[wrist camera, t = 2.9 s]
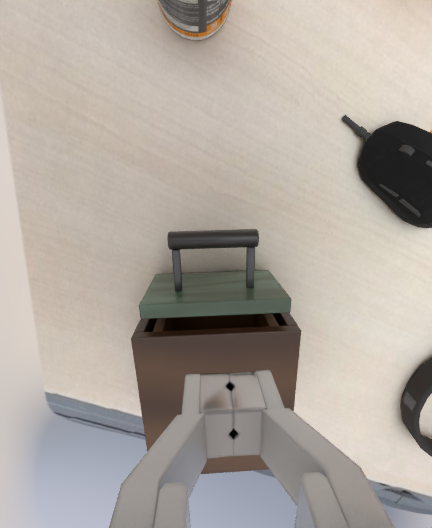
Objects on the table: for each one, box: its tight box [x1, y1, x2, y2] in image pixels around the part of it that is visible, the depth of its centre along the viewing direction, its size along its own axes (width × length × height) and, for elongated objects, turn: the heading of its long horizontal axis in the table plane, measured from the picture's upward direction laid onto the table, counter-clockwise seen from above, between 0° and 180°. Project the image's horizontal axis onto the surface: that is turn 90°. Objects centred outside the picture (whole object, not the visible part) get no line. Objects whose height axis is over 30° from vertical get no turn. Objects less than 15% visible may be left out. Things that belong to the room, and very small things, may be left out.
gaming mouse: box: [342, 115, 432, 228], centre depth 21 cm, size 6×15×4 cm, turn 55°
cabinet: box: [131, 313, 301, 474], centre depth 24 cm, size 15×13×9 cm
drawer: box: [139, 229, 291, 332], centre depth 23 cm, size 18×11×7 cm, turn 1°
